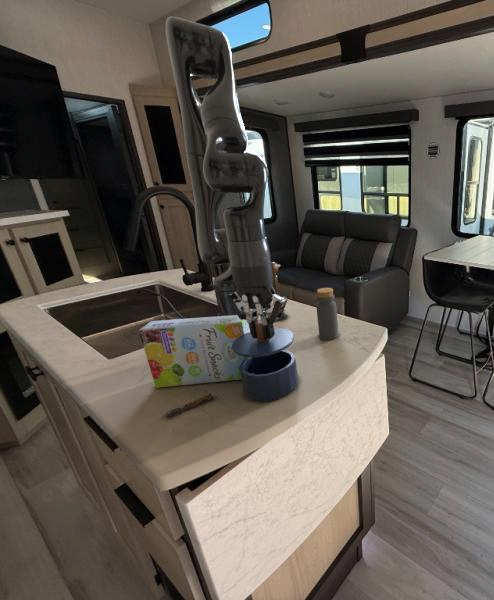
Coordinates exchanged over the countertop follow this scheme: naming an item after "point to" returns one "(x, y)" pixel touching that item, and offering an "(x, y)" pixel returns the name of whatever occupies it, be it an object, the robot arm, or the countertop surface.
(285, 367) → the blue round container
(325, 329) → the bottle
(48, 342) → the countertop surface
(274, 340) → the lid
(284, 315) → the wooden tabletop sculpture
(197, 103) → the robot arm
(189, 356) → the snack box
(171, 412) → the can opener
